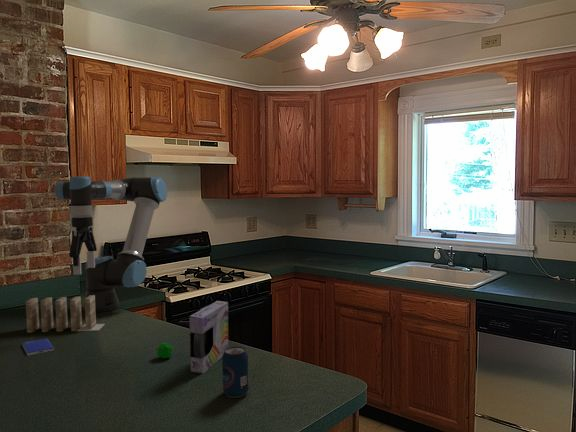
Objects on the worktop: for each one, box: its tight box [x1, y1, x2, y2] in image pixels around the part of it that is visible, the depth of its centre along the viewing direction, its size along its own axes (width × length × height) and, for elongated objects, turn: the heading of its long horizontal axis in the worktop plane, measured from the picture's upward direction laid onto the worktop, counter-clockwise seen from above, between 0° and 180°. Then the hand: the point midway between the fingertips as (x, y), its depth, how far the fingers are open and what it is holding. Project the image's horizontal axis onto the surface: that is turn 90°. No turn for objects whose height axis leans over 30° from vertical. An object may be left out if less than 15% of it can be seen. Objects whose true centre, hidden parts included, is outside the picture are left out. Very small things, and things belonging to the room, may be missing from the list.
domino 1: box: [25, 297, 40, 333], centre depth 194 cm, size 2×6×12 cm, turn 4°
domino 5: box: [84, 295, 97, 330], centre depth 196 cm, size 2×6×12 cm, turn 4°
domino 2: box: [39, 296, 54, 333], centre depth 195 cm, size 2×6×12 cm, turn 4°
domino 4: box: [69, 296, 83, 332], centre depth 196 cm, size 2×6×12 cm, turn 4°
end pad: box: [76, 323, 105, 332], centre depth 196 cm, size 8×8×1 cm
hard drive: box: [22, 338, 55, 356], centre depth 174 cm, size 2×8×12 cm
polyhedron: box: [156, 342, 174, 360], centre depth 163 cm, size 5×5×5 cm
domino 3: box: [54, 296, 69, 332], centre depth 195 cm, size 2×6×12 cm, turn 4°
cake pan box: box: [188, 300, 229, 374], centre depth 157 cm, size 19×5×18 cm, turn 161°
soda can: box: [221, 346, 250, 399], centre depth 135 cm, size 7×7×12 cm
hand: (84, 271), depth 194 cm, fingers open, 13 cm apart
